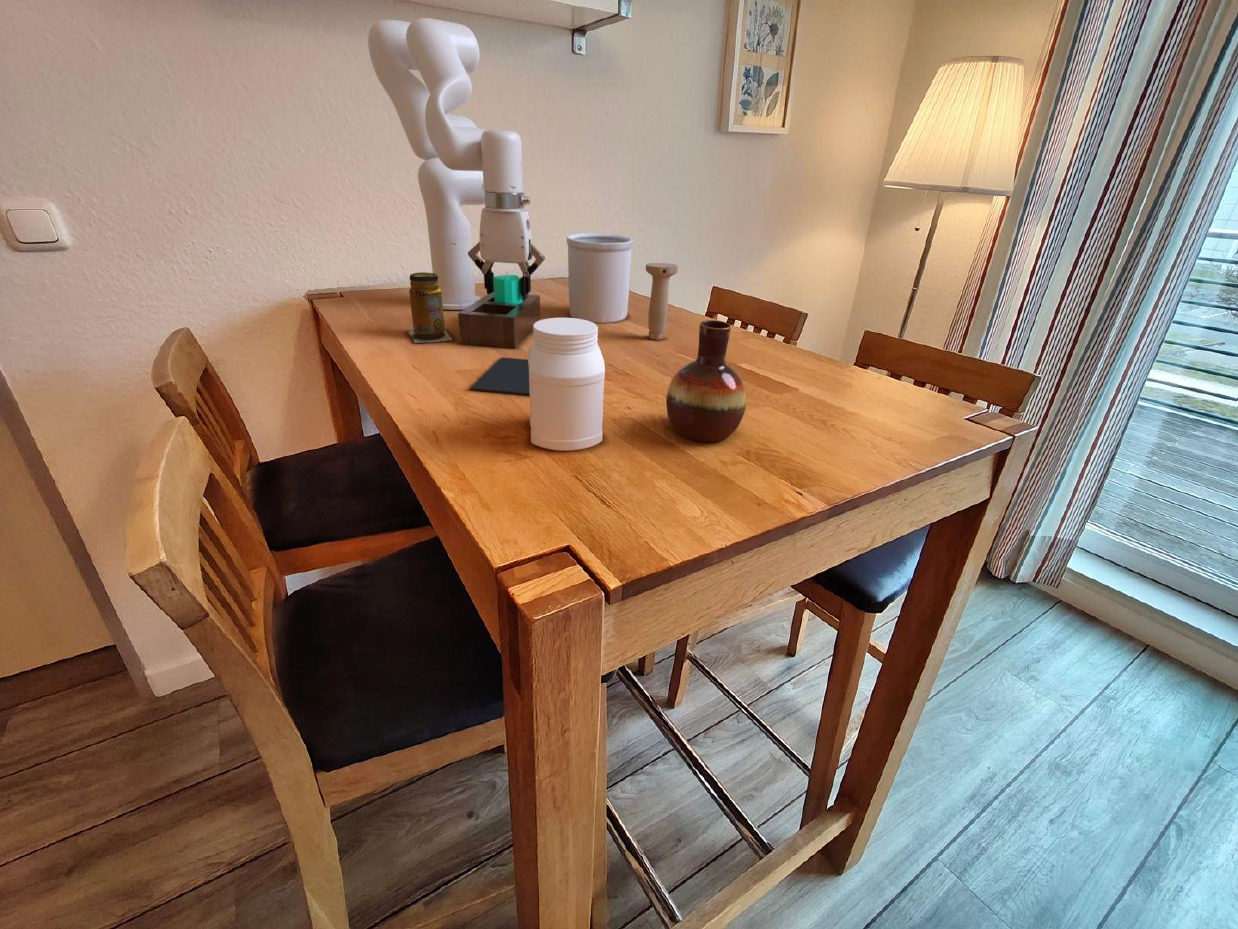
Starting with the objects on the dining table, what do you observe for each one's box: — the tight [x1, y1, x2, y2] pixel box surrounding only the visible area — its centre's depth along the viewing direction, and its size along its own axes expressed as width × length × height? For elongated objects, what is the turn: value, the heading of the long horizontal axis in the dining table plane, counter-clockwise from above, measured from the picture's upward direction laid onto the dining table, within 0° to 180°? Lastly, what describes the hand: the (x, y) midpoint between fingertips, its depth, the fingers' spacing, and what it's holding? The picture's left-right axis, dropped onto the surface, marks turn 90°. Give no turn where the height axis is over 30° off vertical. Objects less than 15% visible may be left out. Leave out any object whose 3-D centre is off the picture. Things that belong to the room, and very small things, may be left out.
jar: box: [527, 317, 606, 452], centre depth 78 cm, size 12×10×15 cm
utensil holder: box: [566, 232, 634, 324], centre depth 135 cm, size 15×15×18 cm
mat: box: [470, 357, 530, 397], centre depth 100 cm, size 18×16×1 cm
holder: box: [457, 292, 541, 349], centre depth 122 cm, size 11×20×6 cm, turn 173°
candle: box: [493, 273, 522, 304], centre depth 124 cm, size 6×6×12 cm
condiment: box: [407, 272, 453, 344], centre depth 115 cm, size 7×8×12 cm
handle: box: [645, 262, 679, 341], centre depth 121 cm, size 5×6×15 cm
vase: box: [665, 319, 747, 443], centre depth 80 cm, size 11×11×15 cm
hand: (507, 293), depth 124 cm, fingers open, 6 cm apart
